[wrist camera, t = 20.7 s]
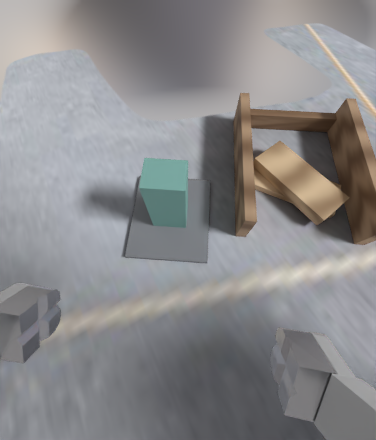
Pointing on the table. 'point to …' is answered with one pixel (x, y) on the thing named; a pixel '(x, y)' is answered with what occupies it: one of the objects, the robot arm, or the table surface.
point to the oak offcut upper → (299, 182)
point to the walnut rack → (342, 153)
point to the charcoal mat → (172, 230)
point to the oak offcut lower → (268, 188)
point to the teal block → (165, 191)
